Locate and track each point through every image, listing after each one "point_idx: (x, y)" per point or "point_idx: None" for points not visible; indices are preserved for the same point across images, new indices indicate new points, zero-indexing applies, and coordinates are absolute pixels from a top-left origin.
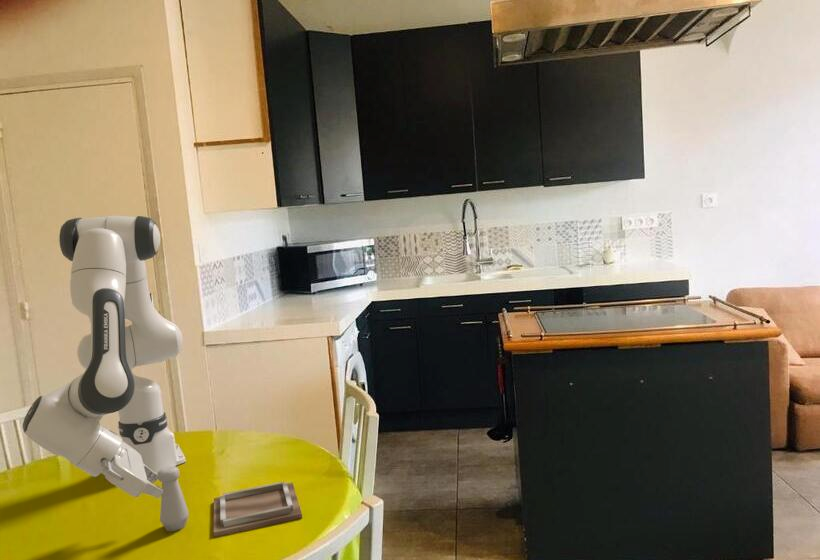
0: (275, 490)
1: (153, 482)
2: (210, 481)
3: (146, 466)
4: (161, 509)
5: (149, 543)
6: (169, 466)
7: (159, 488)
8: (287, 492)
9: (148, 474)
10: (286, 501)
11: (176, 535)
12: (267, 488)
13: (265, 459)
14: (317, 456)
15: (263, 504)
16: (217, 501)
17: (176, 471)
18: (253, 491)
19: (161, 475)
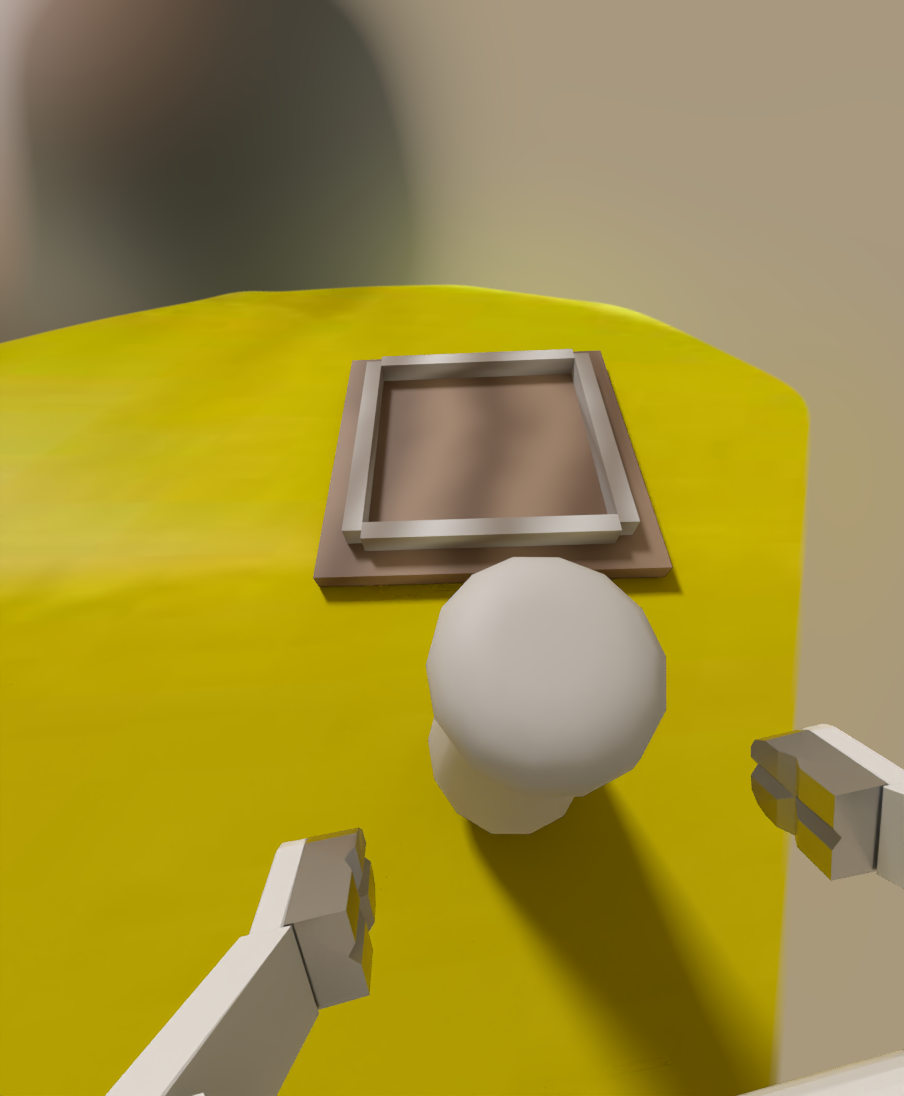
0: (387, 396)
1: (371, 894)
2: (55, 611)
3: (174, 1067)
4: (550, 810)
5: (662, 896)
6: (475, 632)
7: (856, 752)
8: (466, 356)
9: (294, 987)
10: (512, 369)
11: None
12: (378, 405)
13: (37, 429)
14: (173, 320)
15: (485, 425)
16: (361, 563)
17: (585, 569)
18: (373, 441)
19: (651, 730)
